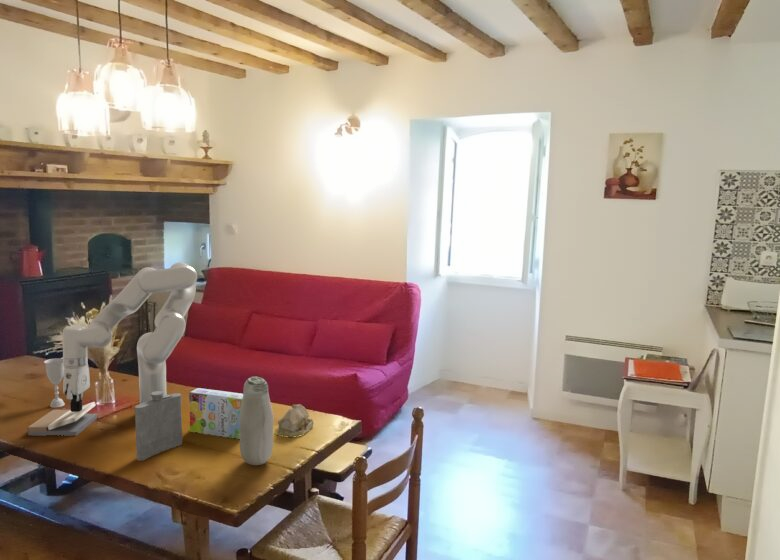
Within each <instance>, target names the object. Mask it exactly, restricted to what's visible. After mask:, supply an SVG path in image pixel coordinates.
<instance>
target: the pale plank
mask: <svg viewBox="0 0 780 560" xmlns="http://www.w3.org/2000/svg"><path fill="white" fill-rule="evenodd" d="M95 407H96V402H95V401H92V402H88V403H87V404H82V410H81V411H80V412H71V409H68V410H69V411H67V412H66V413H65V414H63V415H62V416H61V417H59V418H58V419H57V420H55V421H54V422H52V423H51V424H50V425H48V426H47V427H48V429H49V430H51V429H54V428H57V427H60V426H63V425H66V424H69V423H72V422H75V421H76V420H78V419H79V418H80V417H82V416H83V415H84V414H88V412H89V411H90V410H92V409H93V408H95Z"/></svg>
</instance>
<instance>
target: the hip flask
mask: <svg viewBox="0 0 780 560" xmlns="http://www.w3.org/2000/svg"><path fill="white" fill-rule="evenodd" d="M162 395H163V392H162V391H155V392H152V393H151V396H152V400H149V401H146V402H144V403H141V404H140V403H139V404H137V405H135V406H134V417H135V420H134V421H135V446H136V448H135V449H136V460H137V461H138V462H140V461H141V460H142V461H146V460H148V459H149V457H150V458H152V457H154V456H155V454H156V455H158V454H160V452H161V453H163V452H165V450H166V451H168V450H171V449H174V448H177V447H176V446H178V447H180V445H181V446H182V445H183V421H182V420H183V418H182V394H181V393H178V392H177V393H171V394H167V395H164V396H162ZM173 447H174V448H173ZM170 448H171V449H170ZM162 451H163V452H162ZM153 455H154V456H153ZM151 456H152V457H151ZM147 458H148V459H147ZM145 459H146V460H145ZM142 461H141V462H142Z"/></svg>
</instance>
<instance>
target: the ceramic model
mask: <svg viewBox="0 0 780 560" xmlns="http://www.w3.org/2000/svg"><path fill="white" fill-rule="evenodd" d="M309 417H310V415H309V413H308V410H307V409H306V408H305V406H303V405H302V404H299V403H297V404H295V403H293V404H292V405H291V408H289V409H288V411H286V413H284V415H283V416H282V417H281V419H279V420H278V421H277V424H278V427H277V428H276V429H275V431H276V434H277V435H283V436H288V437H294V436H299V435H303V434H305V433H306V432H307V433H309V432H310V431H311V430H312V429H311V428H313V427H314V420H313V419H312V418H309ZM310 429H311V430H310ZM309 430H310V431H309ZM275 431H274V432H275ZM308 431H309V432H308ZM307 433H306V434H307ZM276 434H275V435H276ZM306 434H305V435H306ZM277 435H276V436H277ZM283 436H282V437H283ZM303 436H304V435H303ZM288 437H287V438H288Z"/></svg>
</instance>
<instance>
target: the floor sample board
mask: <svg viewBox="0 0 780 560" xmlns="http://www.w3.org/2000/svg"><path fill="white" fill-rule="evenodd" d="M69 410H70V409H52V410H50V411H49V412H48V413H46V414H45V415H43V416H42V417H40V418H39V419H37V420H36V421H34V422H33V423H32V424H30V425H29V426H27V434H28V435H29V436H30V435H31V436H43V437H45V436H46V435H58V436H59V435H61V437H66V436H67V437H76V436H78V435H79V434H81V433H82V431H84V430H85V429H86V428H87V427H89V426H90V425H91V424H93V422H95V421H96V420H97V419H98V418H99V414H98V413H85V414H84V415H83V416H82V417H80V418H79V419H78V420H76V421H75V422H72V423H69V424H66V425H63V426H60V427H57V428H54V429H51V430H49V429H48V427H47V426H48V425H50V424H51V423H52V422H54V421H55V420H57V419H58V418H59V417H61V416H62V415H63V414H65V413H66V412H67V411H69ZM97 417H98V418H97ZM28 435H27V436H28ZM63 435H64V436H63ZM58 436H57V437H58ZM46 437H47V436H46Z"/></svg>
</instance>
